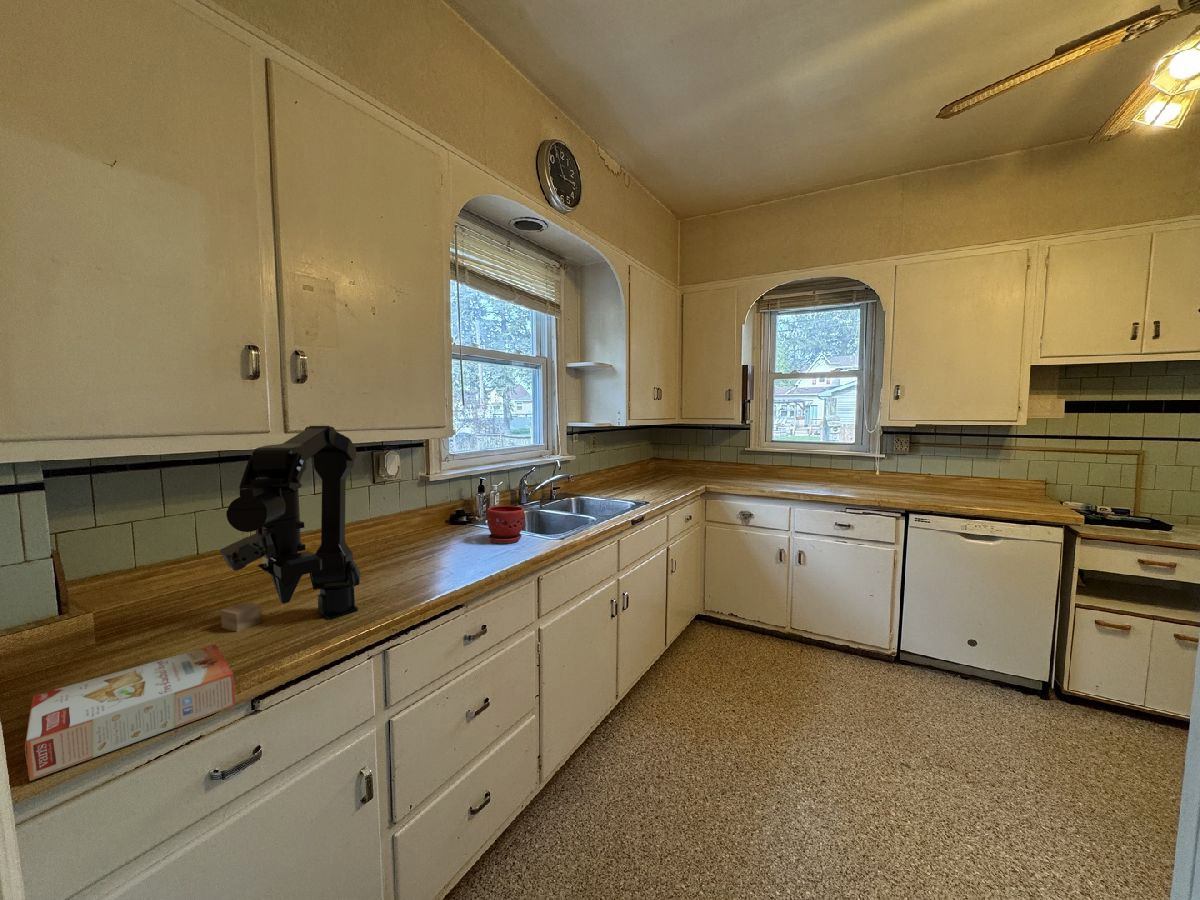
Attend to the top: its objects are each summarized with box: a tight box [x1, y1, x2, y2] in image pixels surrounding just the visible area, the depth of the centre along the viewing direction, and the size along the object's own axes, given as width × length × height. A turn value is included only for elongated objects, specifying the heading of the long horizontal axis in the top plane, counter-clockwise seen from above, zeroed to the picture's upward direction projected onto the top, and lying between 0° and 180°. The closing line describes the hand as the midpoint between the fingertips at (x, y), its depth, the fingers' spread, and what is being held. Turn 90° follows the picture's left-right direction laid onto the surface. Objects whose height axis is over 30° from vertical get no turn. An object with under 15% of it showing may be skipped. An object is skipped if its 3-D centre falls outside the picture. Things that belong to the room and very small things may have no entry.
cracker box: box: [24, 644, 236, 781], centre depth 70 cm, size 14×6×21 cm
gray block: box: [220, 601, 262, 633], centre depth 102 cm, size 5×5×4 cm
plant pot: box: [486, 505, 525, 544], centre depth 169 cm, size 13×13×12 cm
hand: (285, 602), depth 85 cm, fingers closed
